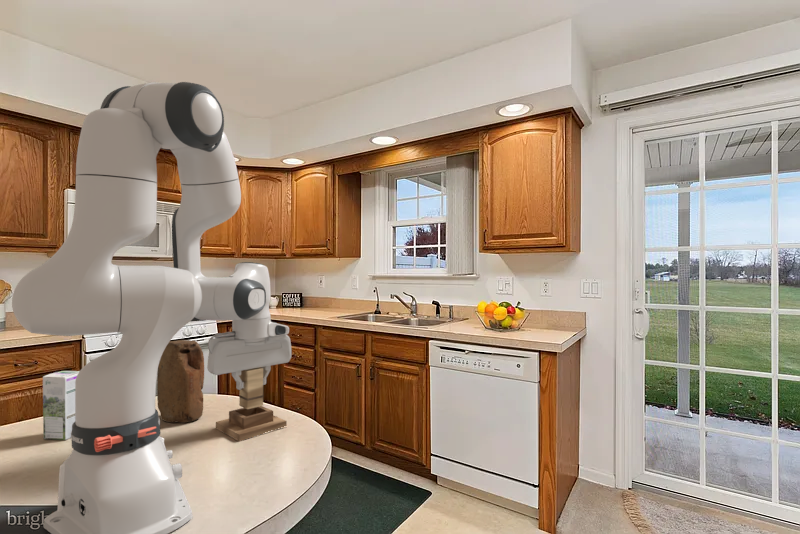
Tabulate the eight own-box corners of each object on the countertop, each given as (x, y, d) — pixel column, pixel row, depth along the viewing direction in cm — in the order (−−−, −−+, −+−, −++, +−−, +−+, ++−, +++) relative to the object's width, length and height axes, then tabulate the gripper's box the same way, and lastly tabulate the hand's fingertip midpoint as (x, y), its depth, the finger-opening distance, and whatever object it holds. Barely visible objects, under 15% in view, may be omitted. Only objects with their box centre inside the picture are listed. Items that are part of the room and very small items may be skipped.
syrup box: (86, 431, 104) (86, 370, 104) (64, 441, 98) (64, 376, 98) (64, 430, 105) (64, 369, 105) (41, 440, 99) (41, 375, 99)
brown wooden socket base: (286, 427, 106) (286, 410, 106) (239, 441, 98) (239, 423, 98) (261, 415, 115) (261, 400, 115) (215, 428, 106) (215, 411, 106)
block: (154, 420, 112) (154, 341, 112) (179, 411, 118) (179, 337, 118) (184, 426, 107) (184, 344, 107) (209, 417, 114) (209, 340, 114)
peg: (263, 405, 106) (263, 368, 106) (247, 409, 103) (247, 371, 103) (254, 401, 109) (255, 365, 109) (239, 405, 106) (239, 368, 106)
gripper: (214, 335, 97) (214, 398, 97) (294, 326, 111) (294, 381, 111) (202, 332, 101) (202, 392, 101) (281, 324, 116) (281, 376, 116)
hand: (251, 386), depth 106 cm, fingers closed on peg, 4 cm apart
